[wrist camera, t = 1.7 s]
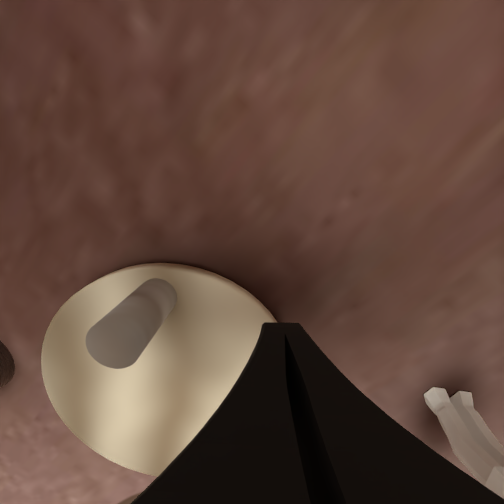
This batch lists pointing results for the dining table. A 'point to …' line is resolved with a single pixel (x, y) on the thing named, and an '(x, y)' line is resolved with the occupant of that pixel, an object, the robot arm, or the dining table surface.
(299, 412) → the robot arm
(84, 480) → the dining table surface
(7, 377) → the grey short cylinder
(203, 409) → the turntable
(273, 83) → the dining table surface
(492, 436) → the toy robot
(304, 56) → the dining table surface
